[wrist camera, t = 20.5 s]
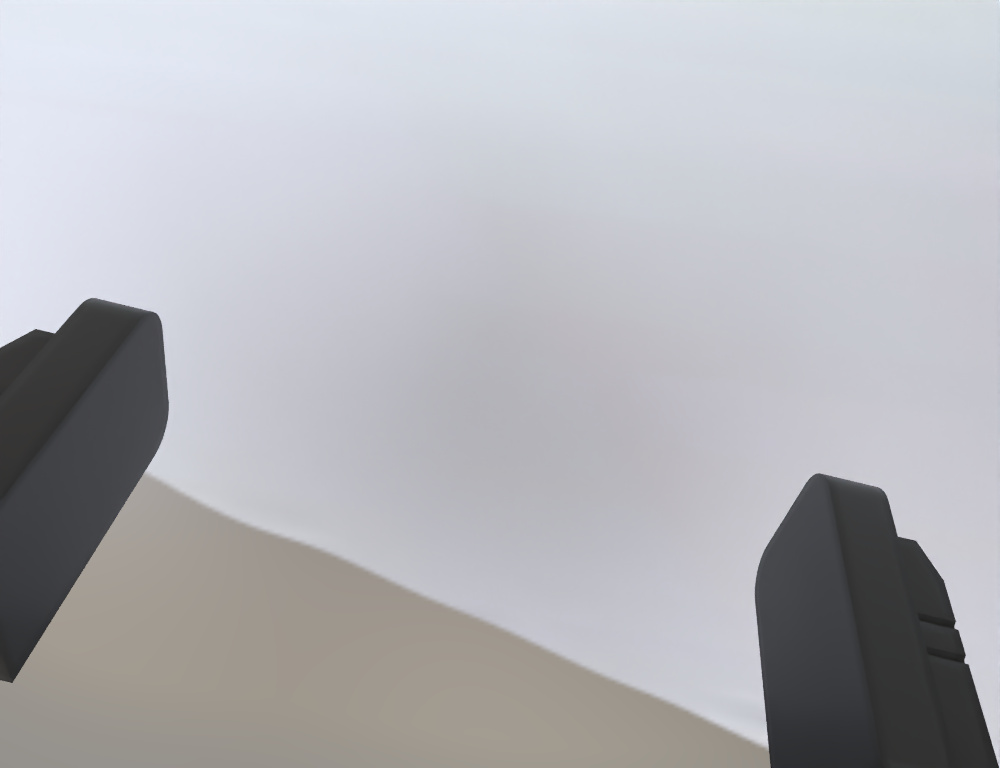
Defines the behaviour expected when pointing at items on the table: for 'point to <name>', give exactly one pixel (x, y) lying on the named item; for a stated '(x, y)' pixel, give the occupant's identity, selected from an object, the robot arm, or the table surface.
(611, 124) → the table surface
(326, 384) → the table surface
